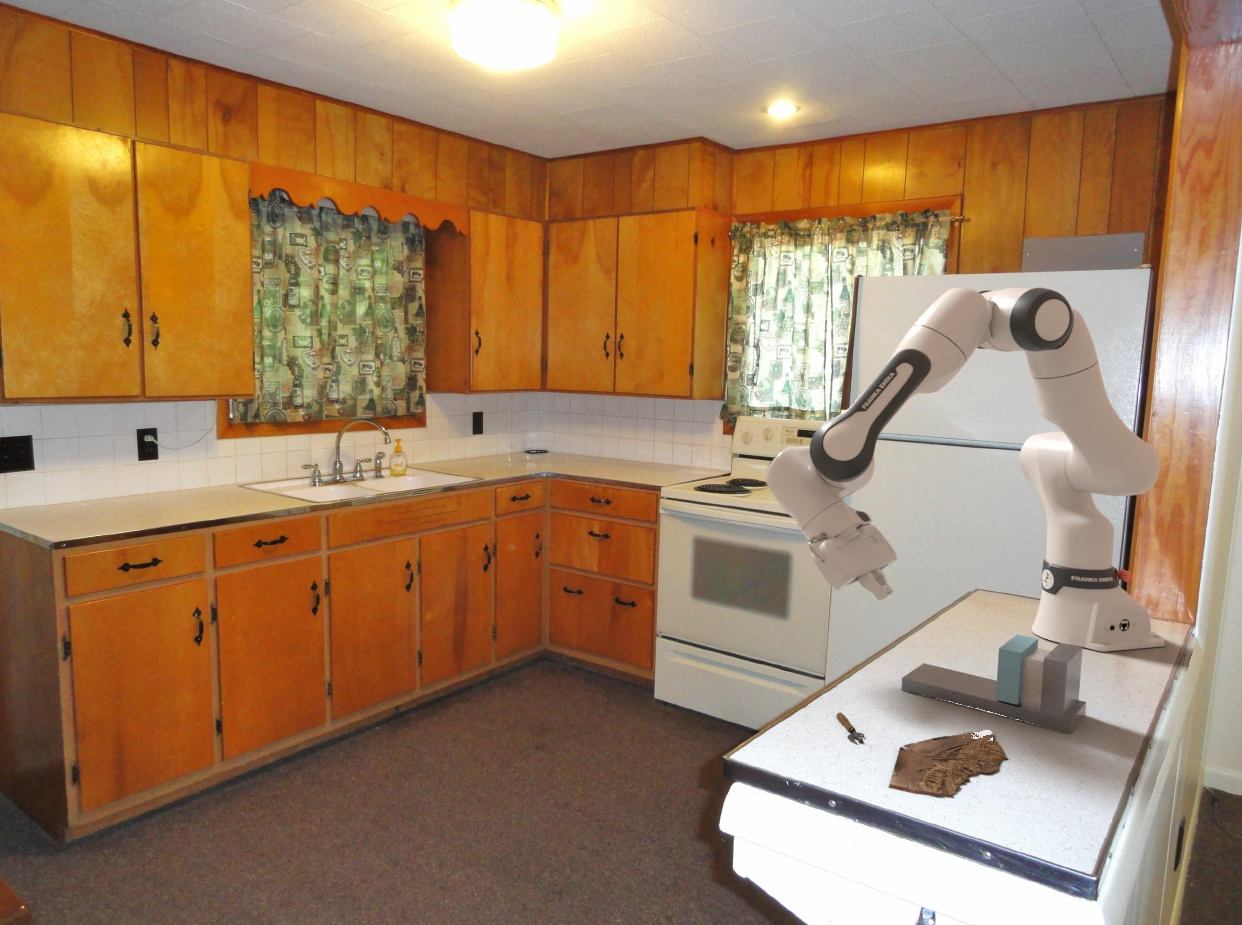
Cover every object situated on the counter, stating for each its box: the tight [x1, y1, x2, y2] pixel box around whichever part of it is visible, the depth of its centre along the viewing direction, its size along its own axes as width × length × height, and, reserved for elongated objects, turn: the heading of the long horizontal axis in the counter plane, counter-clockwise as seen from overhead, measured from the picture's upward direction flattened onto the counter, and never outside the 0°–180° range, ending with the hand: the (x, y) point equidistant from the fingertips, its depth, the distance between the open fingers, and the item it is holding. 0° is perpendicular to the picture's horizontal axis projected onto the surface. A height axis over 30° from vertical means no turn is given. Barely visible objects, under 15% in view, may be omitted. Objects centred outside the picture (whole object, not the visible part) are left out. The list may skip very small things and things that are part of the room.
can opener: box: [835, 712, 865, 746], centre depth 116 cm, size 9×2×1 cm, turn 179°
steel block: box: [1020, 647, 1052, 709], centre depth 122 cm, size 3×6×7 cm, turn 139°
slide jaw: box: [996, 633, 1039, 705], centre depth 124 cm, size 3×9×8 cm, turn 139°
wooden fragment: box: [888, 731, 1009, 798], centre depth 108 cm, size 26×11×1 cm, turn 129°
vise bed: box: [901, 643, 1087, 735], centre depth 126 cm, size 24×9×10 cm, turn 49°
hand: (887, 596), depth 136 cm, fingers closed
